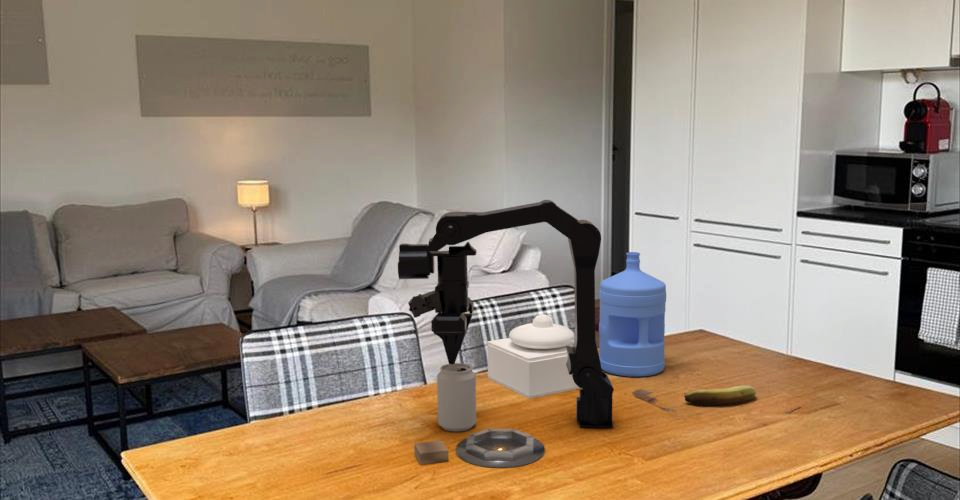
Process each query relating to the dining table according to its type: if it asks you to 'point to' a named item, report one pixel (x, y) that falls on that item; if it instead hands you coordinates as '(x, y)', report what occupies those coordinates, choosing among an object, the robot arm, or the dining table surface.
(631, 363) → the water jug
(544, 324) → the butter dish
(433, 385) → the dining table surface
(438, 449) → the walnut block
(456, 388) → the can
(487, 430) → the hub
